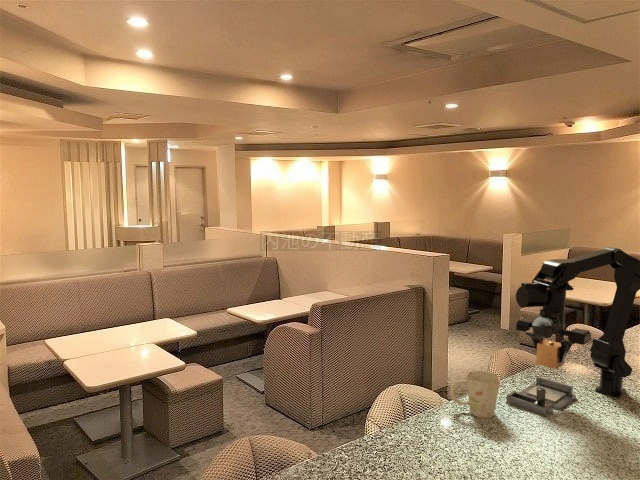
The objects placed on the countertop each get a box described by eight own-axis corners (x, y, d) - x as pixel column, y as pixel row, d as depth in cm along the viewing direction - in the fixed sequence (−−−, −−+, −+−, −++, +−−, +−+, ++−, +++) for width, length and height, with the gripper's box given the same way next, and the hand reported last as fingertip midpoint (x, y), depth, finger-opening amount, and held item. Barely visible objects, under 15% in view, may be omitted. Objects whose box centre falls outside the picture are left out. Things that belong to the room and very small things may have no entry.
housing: (535, 364, 141) (537, 341, 140) (544, 359, 144) (545, 338, 144) (555, 369, 137) (557, 346, 136) (563, 364, 140) (565, 342, 140)
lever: (536, 404, 135) (537, 386, 135) (547, 407, 133) (548, 389, 133) (533, 406, 134) (534, 388, 133) (543, 410, 132) (544, 392, 131)
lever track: (513, 398, 141) (513, 390, 141) (552, 411, 133) (553, 403, 133) (506, 402, 138) (506, 394, 138) (546, 416, 130) (546, 408, 130)
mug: (500, 421, 127) (502, 384, 126) (450, 417, 130) (451, 380, 129) (496, 407, 135) (497, 372, 134) (448, 403, 138) (449, 368, 137)
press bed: (534, 385, 150) (534, 375, 150) (575, 398, 141) (576, 387, 141) (517, 396, 143) (517, 385, 142) (560, 410, 134) (560, 398, 134)
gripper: (507, 304, 140) (505, 357, 142) (578, 317, 126) (573, 376, 128) (525, 298, 148) (522, 349, 149) (593, 310, 134) (589, 366, 136)
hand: (550, 360), depth 140 cm, fingers closed on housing, 5 cm apart
